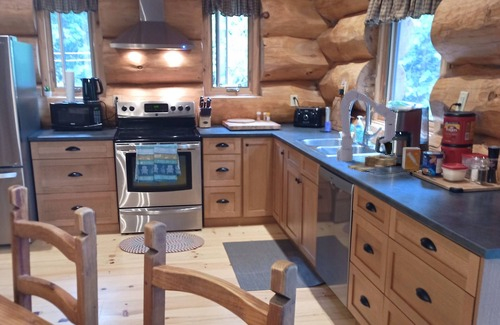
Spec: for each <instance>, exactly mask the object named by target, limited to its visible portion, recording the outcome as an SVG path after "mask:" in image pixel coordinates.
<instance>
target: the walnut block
mask: <svg viewBox="0 0 500 325" xmlns="http://www.w3.org/2000/svg"><path fill="white" fill-rule="evenodd" d="M371 156H372V155H371ZM371 156H370V155H369V156H365V157H364V163H365V165H364V166H367V167H374V166H375V157H371Z"/></svg>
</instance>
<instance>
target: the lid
mask: <svg viewBox="0 0 500 325" xmlns="http://www.w3.org/2000/svg"><path fill="white" fill-rule="evenodd" d="M385 154H386V153H385ZM385 154H378V155H379V156H380V157H385V158H398V157H397V156H398V155H396V152H395V153H393V156H390V155H385Z"/></svg>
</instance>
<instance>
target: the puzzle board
mask: <svg viewBox="0 0 500 325" xmlns="http://www.w3.org/2000/svg"><path fill="white" fill-rule="evenodd" d="M379 155H380V154H377V155H371V157H375V166H371V167H369V166H365V162H363V163H357V164H352V165H351V164H350V165H348V167H347V169H349V168H350V170H353V169H354V170H353V171H356V172H360V171H361V172H362V173H364V172H365V173H370V172H371V171H369V170H372V169H377V168H378V169H379V168H380V169H381V168H384V167H389V166H390V167H391V166H396V165H397V157H395V158H385V157H380V156H379ZM361 172H360V173H361Z"/></svg>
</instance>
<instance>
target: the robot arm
mask: <svg viewBox="0 0 500 325" xmlns="http://www.w3.org/2000/svg"><path fill="white" fill-rule="evenodd" d="M354 101H361V102H364V103H365V104H367V105H369V106H370V107H371V108H373V110H374V112H375V113H377V114H379V116H381V117H383V118H385V123H384V125H385V126H384V138H382V139H379V144H383V146H384V148H385V154H386V153H387V154H388V155H390V154H391V152H393V149H392V143H390V142H389V141H392V138H393V137H394V136H395V137H396V118H397V113H396V112H395V111H394V110H393V111H394V112H393V111H390V110H392V109H391V108H389V107H387V106H386V105H385V103H381V102H378V103H377V102H376V101H374V100H373V99H372V98H370V97H368V96H367V95H366V94H364V93H363V92H360V91H358V90H357V89H355V88H352V89H349V90H347V92H345V93H344V96H343V97H342V99H341V101H340V103H339V107H340V108H339V110H340V119H341V132H342V135H341V137H342V138H341V141H340V147H338V149H337V150H336V162H340V161H341V162H347V163H348V162H353V160H354V157H353V156H354V147H353V144H354V139H353V137H352V133H351V123H350V112H349V106H350V104H352V102H354ZM395 113H396V114H395ZM391 124H392V125H391Z"/></svg>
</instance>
